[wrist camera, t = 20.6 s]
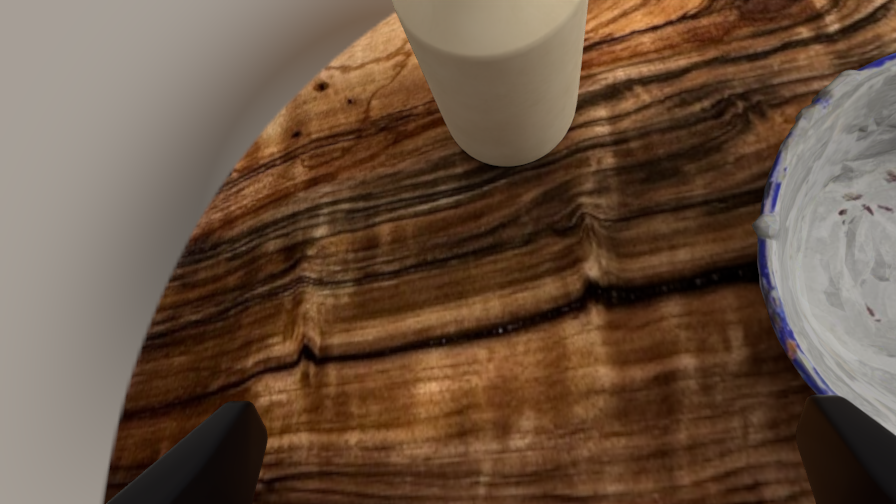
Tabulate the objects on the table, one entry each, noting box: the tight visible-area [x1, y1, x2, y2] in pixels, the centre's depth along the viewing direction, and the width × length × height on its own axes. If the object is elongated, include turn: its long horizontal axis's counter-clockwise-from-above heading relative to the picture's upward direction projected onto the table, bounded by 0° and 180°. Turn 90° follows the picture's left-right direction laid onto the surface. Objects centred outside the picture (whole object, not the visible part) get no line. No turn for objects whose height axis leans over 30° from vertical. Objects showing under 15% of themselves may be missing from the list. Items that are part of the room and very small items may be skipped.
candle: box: [392, 0, 588, 166], centre depth 18 cm, size 6×6×10 cm
